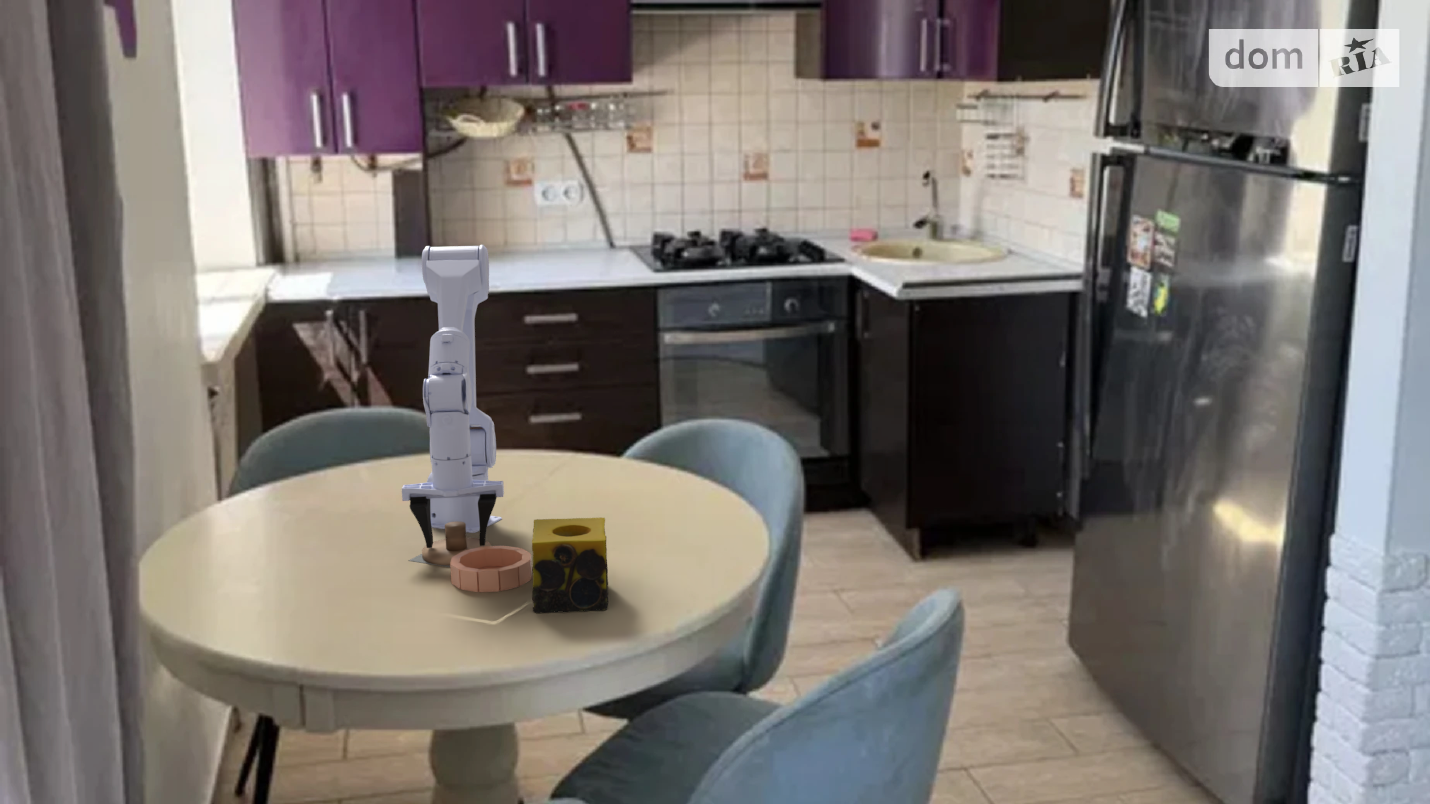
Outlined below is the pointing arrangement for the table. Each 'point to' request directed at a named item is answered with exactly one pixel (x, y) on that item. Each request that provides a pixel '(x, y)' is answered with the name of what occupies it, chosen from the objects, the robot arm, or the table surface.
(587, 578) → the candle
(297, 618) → the table surface
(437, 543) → the lid
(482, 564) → the bowl
